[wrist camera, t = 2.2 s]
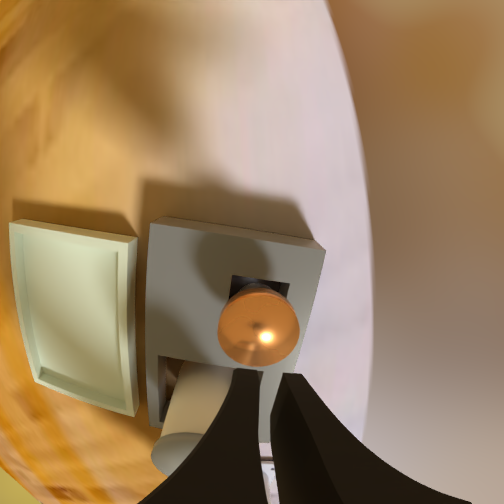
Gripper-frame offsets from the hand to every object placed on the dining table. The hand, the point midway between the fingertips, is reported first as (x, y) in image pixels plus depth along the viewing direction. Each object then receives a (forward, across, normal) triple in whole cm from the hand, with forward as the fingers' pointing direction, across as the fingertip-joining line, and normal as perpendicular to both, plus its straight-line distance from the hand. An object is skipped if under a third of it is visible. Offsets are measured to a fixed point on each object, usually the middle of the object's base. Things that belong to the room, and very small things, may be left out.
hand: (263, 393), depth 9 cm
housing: (+9, +2, +4) cm, 10 cm away
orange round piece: (+7, 0, 0) cm, 7 cm away
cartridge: (+9, +2, +8) cm, 12 cm away
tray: (+9, +12, +5) cm, 16 cm away
